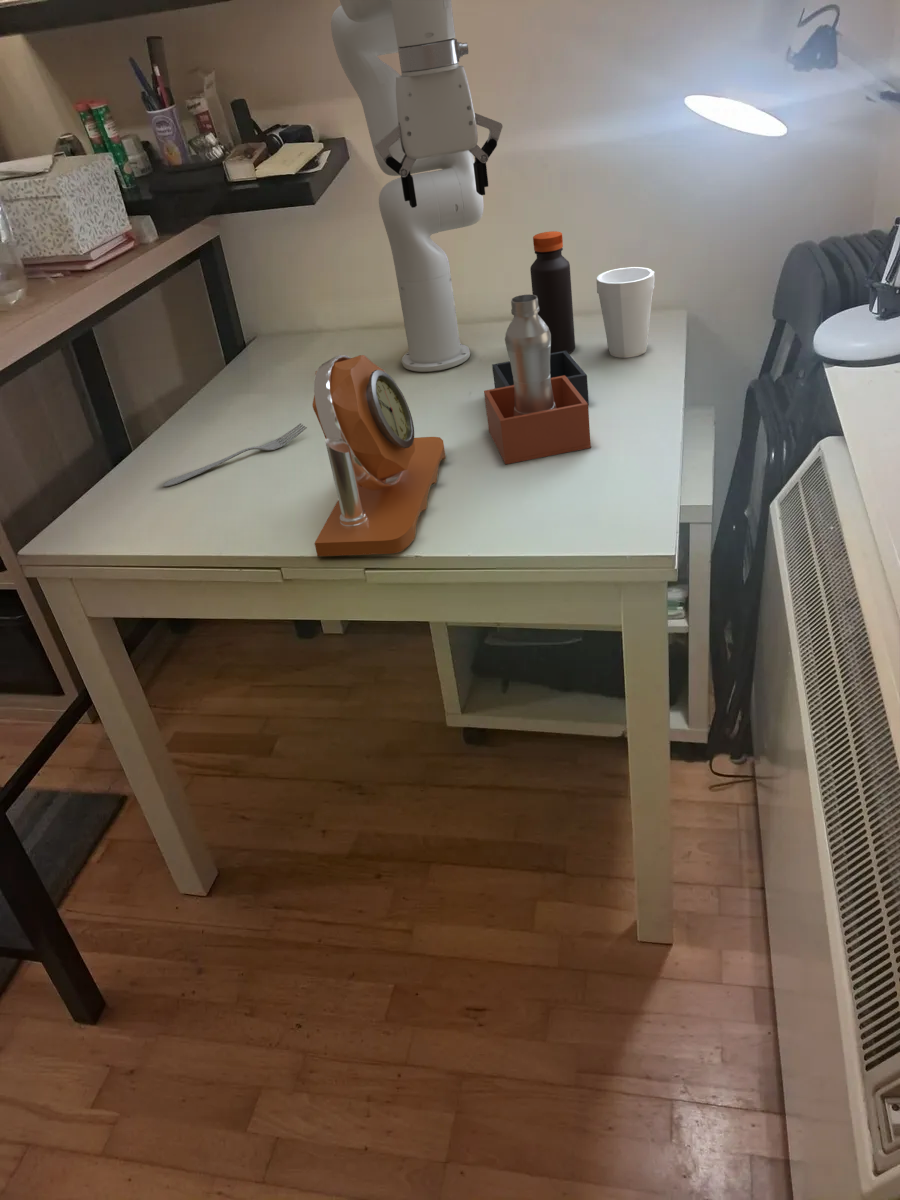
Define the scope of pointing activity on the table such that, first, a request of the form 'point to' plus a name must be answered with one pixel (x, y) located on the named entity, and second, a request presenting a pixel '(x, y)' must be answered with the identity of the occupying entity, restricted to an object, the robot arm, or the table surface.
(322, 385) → the desk clock
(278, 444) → the fork
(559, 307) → the vinegar
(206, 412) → the table surface
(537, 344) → the metal bottle
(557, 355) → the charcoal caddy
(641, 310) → the foam cup
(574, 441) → the terracotta bin
